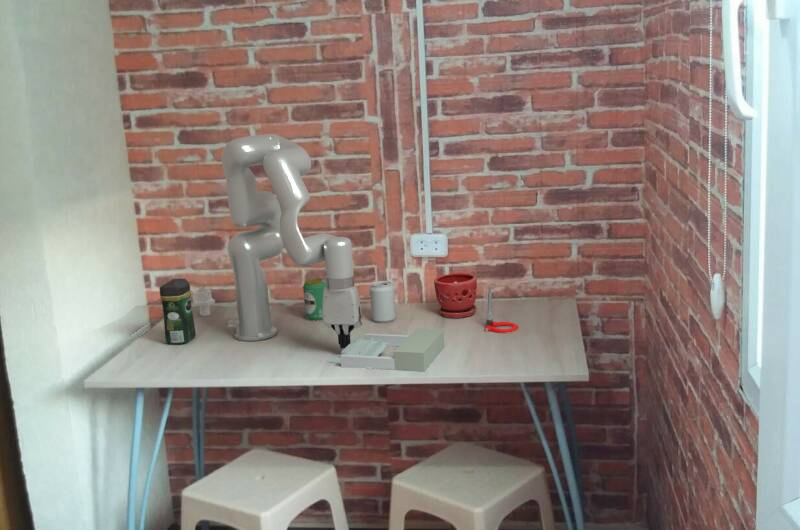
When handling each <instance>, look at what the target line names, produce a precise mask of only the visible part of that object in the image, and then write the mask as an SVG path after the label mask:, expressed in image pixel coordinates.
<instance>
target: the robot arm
mask: <svg viewBox="0 0 800 530" xmlns="http://www.w3.org/2000/svg"><path fill="white" fill-rule="evenodd" d="M221 166H222V169H223V173H224V177H225V180H226V182H225V183H226V193H227V200H228V211H229V216H230V221H231V223H232V225H233V226H234V227H236V228H239V229H241V228H242V229H243V228H244V229H245V228H251V227H254V226H258V228H255V229H250V230H247V231H243V232H240V233H237V234H235V235H233V236H232V237H231V238H230V240H228V243H227V254H228V256H229V257H228V258H229V260H230V264H231V267H232V272H233V273H232V274H233V281H234V289H235V291H234V292H235V301H236V309H237V317H238V319H237V320H231V319H230V320H228V322H227V328H228V329H235V331H234V338H235V339H236V340H238V341H243V342H253V341H263V340H267V339H271V338H272V337H274V336H276V335H277V332H278V329H277V328H276V327H275V326H272V321H271V311H270V298H269V286H268V278H267V274H266V272H265V270H264V269H263V267H262V266H261V264H260V262H262V261H266V260H269V259H273V258H275V257H277V256H279V255H280V254H281V253H282V251H283V248H284V249H285V251H286V253H287V255H288V256H289V258H290V260H291V261H292V262H293V263H294V264H295V265H297V266H299V267H307V266H312V265H314V264H319V263H321V262H324V267H325V270H324V271H325V277H322V278H321V279H322V283H326V286H327V287H325V288H324V291H323V303H322V316H323V320H322V322H323V323H324V326H325V327H328V328H331V329H332V330H333V331H334V332H335V334H336V335H337V339H338V341H337V343H338V345H339V348H340V349H343V350H344V349H345V348H346V347H347V346H348V345H349V344H350V343H352V342H351V332H352V331H353V330H355V329H360V328H361V327H362V326H363V322H362V317H363V315H362V313H363V312H362V305H361V299H360V294H359V290H358V287H357V286H356V285H355V274H354V261H353V258H354V257H353V246H352V241H351V239H350V238H349V237H346V236H336V235H332V234H329V233H324V232H322V233H318V234H317V233H316V234H314V235H311V236H306V237H303V235H302V233H301V230H300V228H299V223H298V216H299V214H300V212H301V209H302V208H303V207H305V206H306V205H307V204H308V202H310V199H311V196H310V192H309V191H308V187H306V186H307V185H305V182H304V180H303V178H302V176H306V175H307V174H308V173H309V172H310V170H311V168H312V160H311V157H310V155H309V153H308V152H307V151H306V150H305V149H304V147H302V146H300V145H299V144H297V143H296V142H293V141H291V140H289V139H287V138H285V137H283V136H280V135H278V134H275V133H266V134H258V135H249V136H243V137H242V136H241V137H237V138H234V139H232V140H231V141H229V142H227V143H226V144H225V146H224V147H223V149H222V152H221ZM257 166H262V169H263V170H264V173H265V175H266V177H267V179H268V181H269V183H270V186H271V187H272V190H273V192H274V194H273V193H272V192H270V191H267V190H262V191H258V188H257V180H256V179H257V178H256V177H255V175H254V173H253V171H252V170H251V169H250V168H251V167H257Z"/></svg>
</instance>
